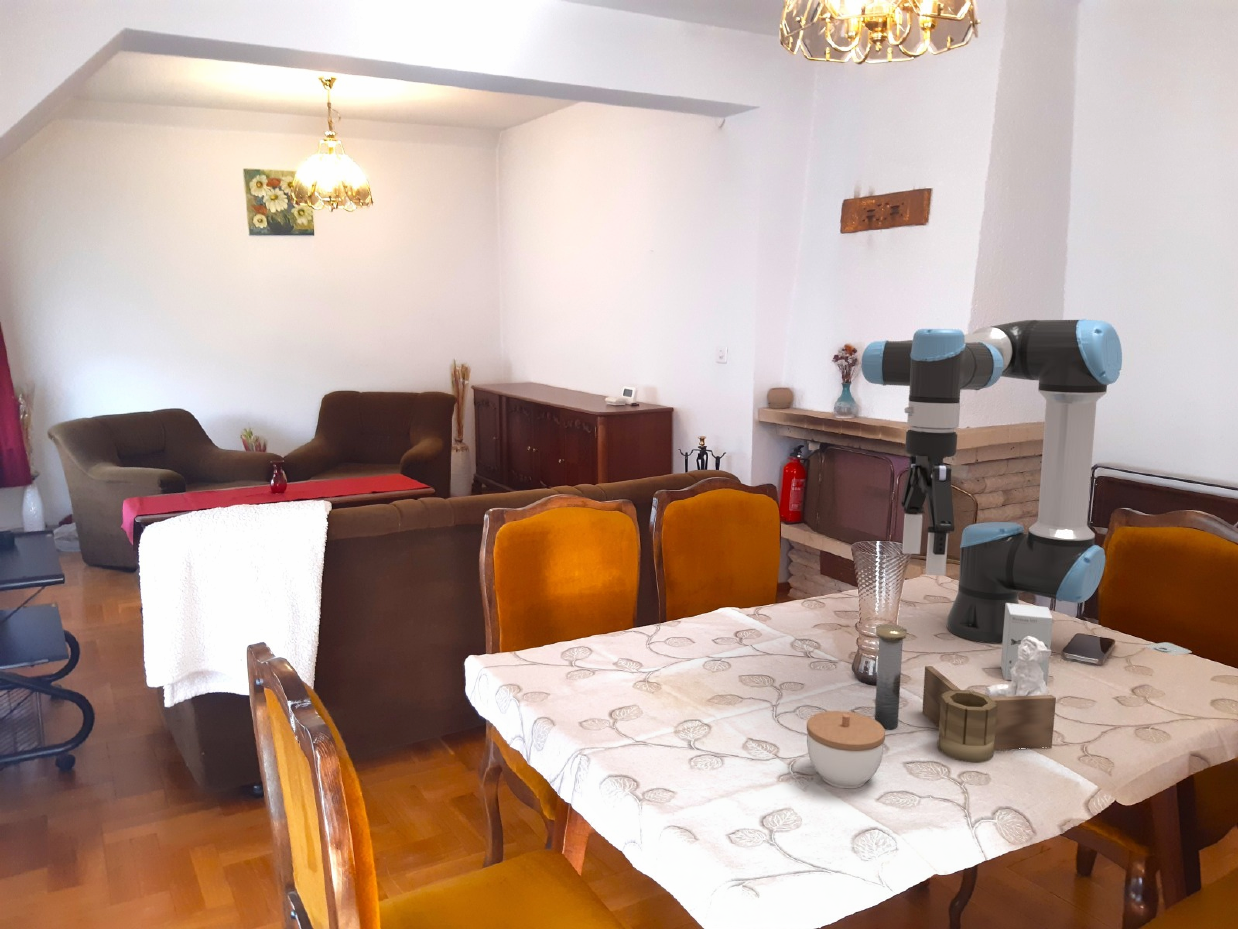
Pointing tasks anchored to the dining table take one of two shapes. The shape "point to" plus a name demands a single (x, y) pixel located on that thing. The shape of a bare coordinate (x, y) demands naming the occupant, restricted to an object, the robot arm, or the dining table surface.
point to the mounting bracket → (1168, 648)
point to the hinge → (985, 719)
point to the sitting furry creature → (1025, 672)
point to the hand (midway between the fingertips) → (922, 563)
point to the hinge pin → (888, 674)
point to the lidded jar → (845, 747)
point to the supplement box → (1024, 634)
